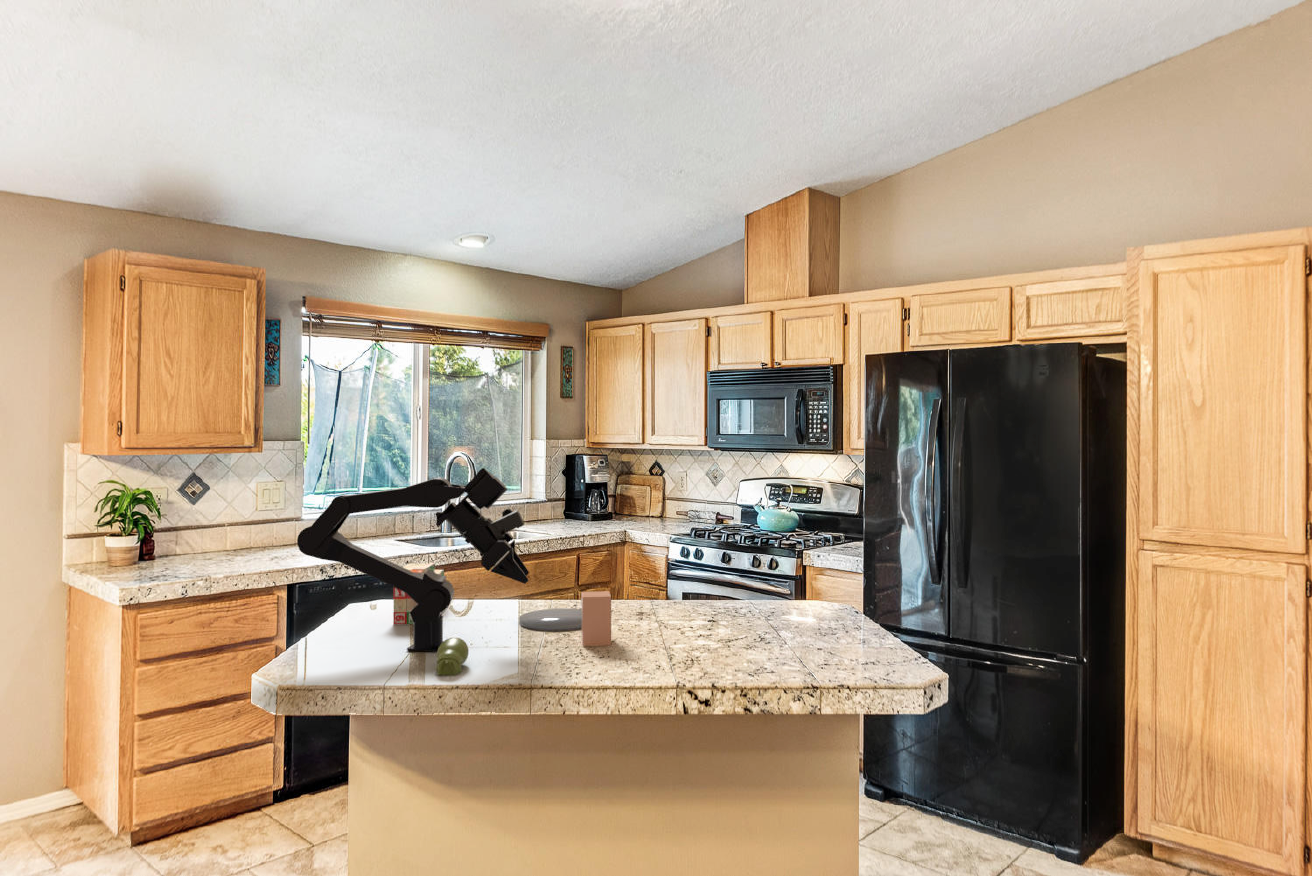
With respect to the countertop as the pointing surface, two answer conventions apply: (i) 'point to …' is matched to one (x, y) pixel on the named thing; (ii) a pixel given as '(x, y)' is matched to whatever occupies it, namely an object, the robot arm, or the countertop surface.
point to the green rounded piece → (451, 656)
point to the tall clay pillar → (596, 618)
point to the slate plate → (552, 620)
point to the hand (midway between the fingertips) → (527, 578)
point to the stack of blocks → (403, 601)
